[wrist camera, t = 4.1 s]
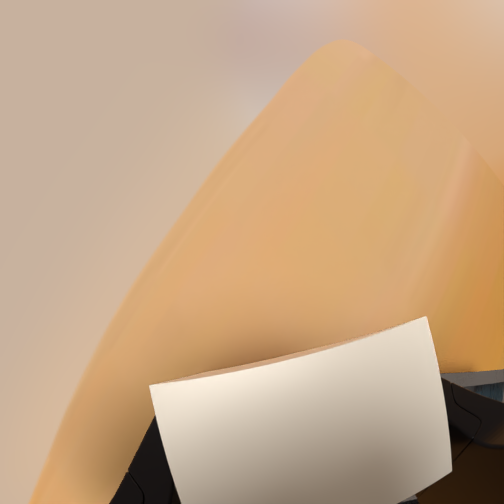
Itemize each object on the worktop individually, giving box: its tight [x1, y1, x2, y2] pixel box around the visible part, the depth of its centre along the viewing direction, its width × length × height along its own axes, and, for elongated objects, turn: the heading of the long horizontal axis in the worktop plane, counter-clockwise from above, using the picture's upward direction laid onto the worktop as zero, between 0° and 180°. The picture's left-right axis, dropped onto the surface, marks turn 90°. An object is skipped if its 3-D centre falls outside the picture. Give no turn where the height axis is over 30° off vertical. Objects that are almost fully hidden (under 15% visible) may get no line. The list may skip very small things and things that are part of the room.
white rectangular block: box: [149, 316, 452, 504], centre depth 9 cm, size 4×5×11 cm
